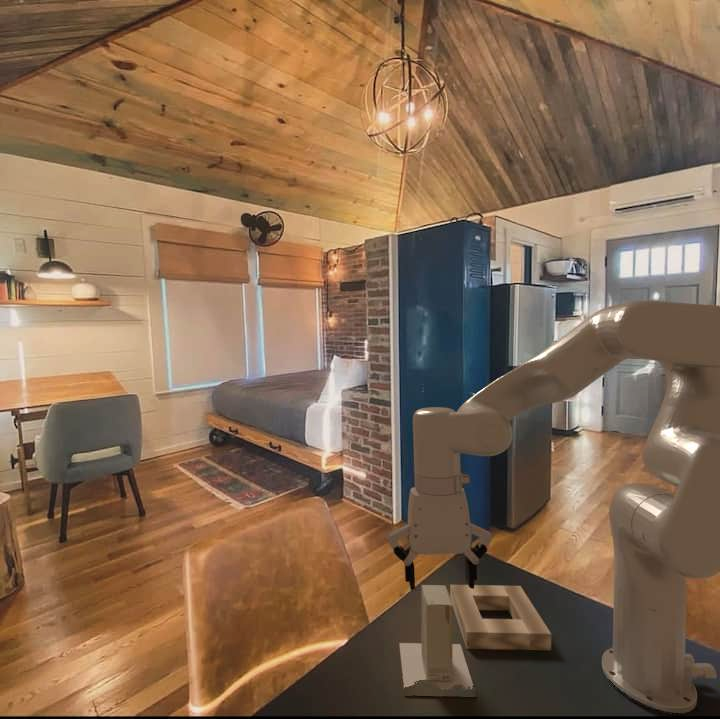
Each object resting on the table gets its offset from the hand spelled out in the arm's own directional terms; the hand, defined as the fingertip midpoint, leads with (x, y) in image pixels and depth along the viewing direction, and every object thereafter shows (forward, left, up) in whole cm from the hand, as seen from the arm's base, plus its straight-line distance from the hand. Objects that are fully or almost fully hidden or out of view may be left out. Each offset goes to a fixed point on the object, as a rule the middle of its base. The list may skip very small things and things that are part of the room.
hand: (440, 584), depth 68 cm
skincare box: (+1, 0, -14) cm, 14 cm away
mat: (+1, 0, -14) cm, 14 cm away
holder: (-13, -13, -14) cm, 23 cm away
